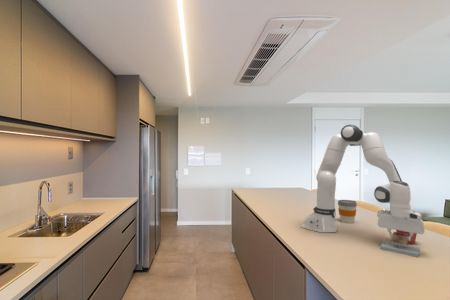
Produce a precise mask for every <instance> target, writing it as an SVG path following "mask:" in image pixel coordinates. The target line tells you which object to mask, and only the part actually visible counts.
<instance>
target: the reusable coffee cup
mask: <svg viewBox="0 0 450 300" xmlns="http://www.w3.org/2000/svg"><path fill="white" fill-rule="evenodd" d="M357 204H358V203H357V201H355V200H350V199H339V200H338V202H337V205H338V214H339V219H340V222H342V223H344V224H354V223H355V217H356V215H357V214H356V213H357Z"/></svg>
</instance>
